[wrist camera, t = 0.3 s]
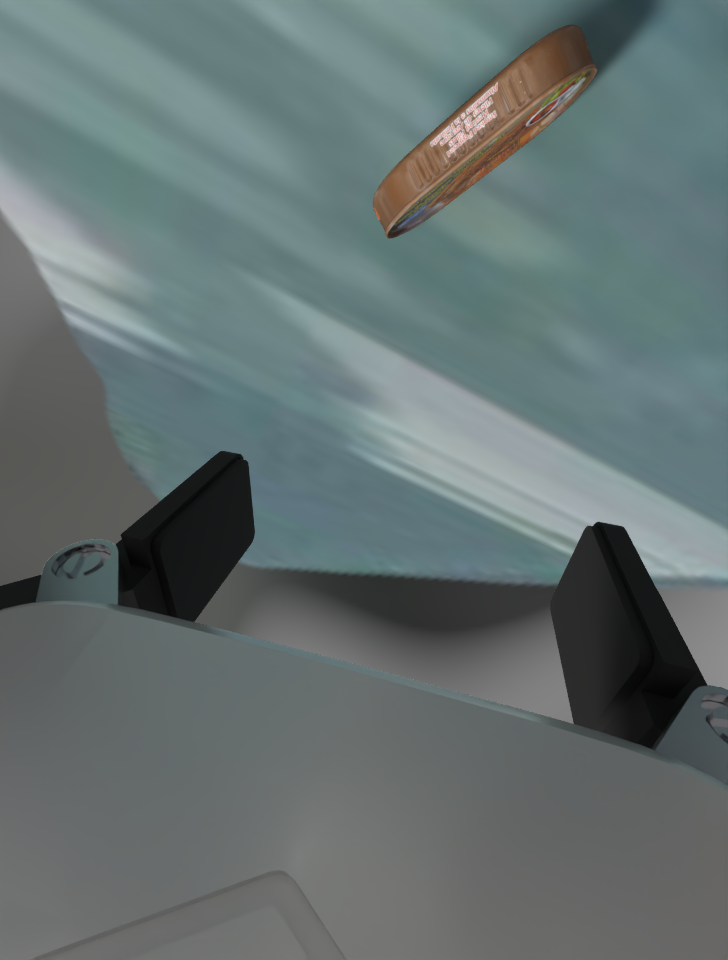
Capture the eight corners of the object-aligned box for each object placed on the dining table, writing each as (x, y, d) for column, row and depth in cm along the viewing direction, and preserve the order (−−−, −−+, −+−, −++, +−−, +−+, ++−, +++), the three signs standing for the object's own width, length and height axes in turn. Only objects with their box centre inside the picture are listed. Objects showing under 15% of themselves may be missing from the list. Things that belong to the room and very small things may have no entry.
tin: (398, 242, 34) (379, 242, 27) (379, 205, 33) (354, 196, 26) (582, 101, 28) (619, 54, 21) (564, 50, 27) (597, -18, 20)
